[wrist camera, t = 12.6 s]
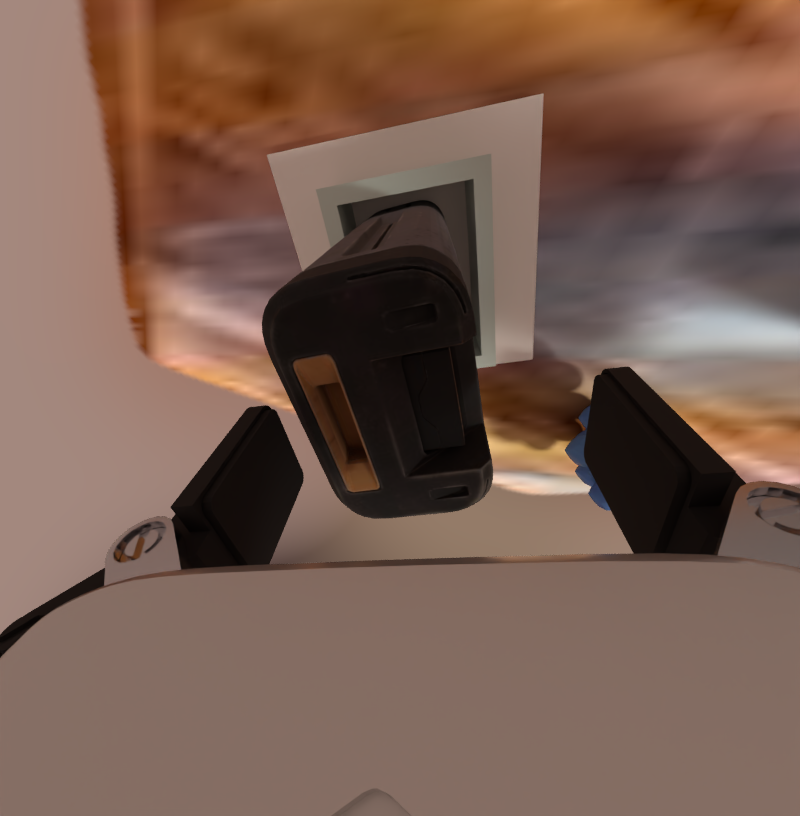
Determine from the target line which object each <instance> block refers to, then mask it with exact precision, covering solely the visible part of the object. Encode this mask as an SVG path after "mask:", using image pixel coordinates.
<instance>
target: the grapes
mask: <svg viewBox="0 0 800 816" xmlns="http://www.w3.org/2000/svg"><path fill="white" fill-rule="evenodd" d="M589 412H590V406H588V407H587V408H586V409H584V410H583V412H582V413H581V414H580V416H579V420H580V422H581V423H582V425H583V426H584V427H585V428H586V430H584V431H582V432H581V433H579V434H578V435H577V436H576V437H575V438H574V439H573V440H571V442H570V443H569V444H568V446H567V447H566V449H565V451H566V453H567V454H568V456H569V457H570V459H571V460H572V461H573V462H574V463H575V464H577V465H579V466H578V467H577V469H576V471H575V472H576V474H577V475H578V477H579V478H580V479H581V480H582V481H583V482H584V483H585V484H587V485H589V486H591V489H590V491H589V493H588V494H589V495H590V497H591V498H592V500H593V501H594V502H595V503H596V504H597V505H598V506H599V507H601V508H603V509H605V510H610V508H609V506H608V504H607V502H606V500H605V498H604V496H603V495H602V493H601V491H600V489H599V487H598V485H597V483H596V481H595V479H594V478H593V476H592V474H591V472H590V470H589V468H588V466H587V464H586V462H585V459H584V446H585V439H586V432H587V425H588V419H589Z"/></svg>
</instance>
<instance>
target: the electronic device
mask: <svg viewBox="0 0 800 816" xmlns="http://www.w3.org/2000/svg"><path fill="white" fill-rule="evenodd" d="M262 333H263V337H264V342H265V345H266V348H267V350H268V353H269V355H270V358H271V360H272V363H273V365H274V367H275V369H276V371H277V373H278V375H279V377H280V379H281V382H282V384H283V386H284V388H285V390H286V392H287V394H288V396H289V398H290V401H291V403H292V405H293V407H294V409H295V411H296V413H297V415H298V417H299V420H300V422H301V424H302V426H303V428H304V430H305V432H306V434H307V436H308V438H309V440H310V443H311V445H312V447H313V449H314V451H315V453H316V455H317V457H318V459H319V462H320V464H321V466H322V468H323V470H324V472H325V474H326V476H327V478H328V481H329V483H330V485H331V487H332V489H333V491H334V492H335V494H336V496H337V497H338V498H339V499H340V501H341V502H342V503H343V504H345V505H346V506H347V507H348V508H350V509H351V510H352V511H353V512H355V513H357V514H359V515H361V516H364V517H370V518H396V517H406V516H416V515H426V514H437V513H446V512H453V511H459V510H462V509H465V508H468V507H469V506H471V505H474V504H475V503H477V502H478V501H480V500H481V499H482V498H483V497H485V495H486V494H487V492H488V491H489V489H490V487H491V484H492V480H493V466H492V459H491V454H490V449H489V445H488V440H487V435H486V431H485V426H484V421H483V413H482V405H481V397H480V389H479V381H478V373H477V365H476V357H475V350H474V342H473V337H474V336H476V335H477V334H476V325H475V318H474V312H473V308H472V304H471V300H470V297H469V293H468V290H467V287H466V284H465V282H464V279H463V275H462V271H461V268H460V266H459V263H458V259H457V255H456V251H455V248H454V246H453V243H452V240H451V237H450V234H449V231H448V228H447V224H446V221H445V218H444V215H443V213H442V211H441V210H440V208H439V207H438V206H437V205H436V204H435V203H433V202H431V201H427V200H419V201H414V202H410V203H406V204H402V205H398V206H395V207H391V208H387V209H384V210H381V211H378V212H376V213H375V214H373V215H372V216H371V217H369V218H368V219H367V220H366V221H364V222H363V223H362V224H361V225H359V226H358V227H357V228H355V229H354V230H353V231H352V232H350V233H349V234H348V235H346V236H345V237H344V238H343V239H341V240H340V241H339V242H338V243H336V244H335V245H334V246H333V247H331V248H330V249H329V250H328V251H327V252H325V253H324V254H323V255H322V256H321V257H319V258H318V259H317V260H316V261H315V262H313V263H312V264H311V265H310V266H308V267H307V268H306V269H305V270H304V271H302V272H301V273H300V274H299V275H297V276H296V277H295V278H293V279H292V280H291V281H290V282H288V283H287V284H286V285H285V286H283V287H282V288H281V289H280V290H279V291H278V292H277V293H276V294H275V295H274V296H272V297H271V298H270V300H269V302H268V304H267V306H266V308H265V310H264V314H263V320H262Z"/></svg>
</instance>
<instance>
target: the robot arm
mask: <svg viewBox="0 0 800 816" xmlns="http://www.w3.org/2000/svg"><path fill="white" fill-rule="evenodd" d="M584 459H585V462H586V464H587V466H588V468H589V470H590V472H591V474H592V476H593V478H594V479H595V481H596V483H597V485H598V487H599V489H600V491H601V493H602V495H603V496H604V498H605V500H606V502H607V504H608V506H609V508H610V510H611V511H612V513H613V515H614V517H615V519H616V521H617V523H618V525H619V527H620V528H621V530H622V532H623V534H624V536H625V538H626V540H627V542H628V544H629V545H630V547H631V549H632V551H633V553H634V554H575V555H540V556H506V557H505V556H503V557H467V558H437V559H436V558H435V559H404V560H378V561H377V560H375V561H347V562H346V561H345V562H320V563H293V564H269V563H270V561H271V559H272V556H273V554H274V551H275V549H276V546H277V544H278V541H279V539H280V537H281V534H282V532H283V530H284V527H285V525H286V522H287V520H288V517H289V515H290V513H291V510H292V508H293V505H294V503H295V501H296V498H297V495H298V493H299V491H300V488H301V486H302V484H303V472H302V469H301V467H300V464H299V463H298V460H297V457H296V455H295V453H294V450H293V448H292V446H291V444H290V441H289V439H288V437H287V434H286V432H285V430H284V427H283V425H282V423H281V421H280V418H279V416H278V414H277V412H276V411H275V410H274V409H271V408H270V407H269V406H257V407H249V408H248V409H246V411H245V412H244V413H243V415H242V416H241V417H240V418H239V420H238V421H237V422H236V424H235V425H234V426H233V428H232V429H231V430H230V431H229V433H228V434H227V435H226V436H225V438H224V439H223V440H222V442H221V443H220V444H219V445H218V447H217V448H216V449H215V451H214V452H213V453H212V454H211V456H210V457H209V458H208V460H207V461H206V462H205V464H204V465H203V466H202V467H201V469H200V470H199V471H198V473H197V474H196V475H195V476H194V478H193V479H192V480H191V481H190V483H189V484H188V485H187V487H186V488H185V489H184V490H183V492H182V493H181V494H180V496H179V497H178V498H177V499H176V501H175V502H174V503H173V505H172V506H171V508H172V510H173V511H174V512H175V516H174V517H173V518H172V520H171V519H170V518H167V517H165V516H161V517H160V516H157V517H153V518H149V519H147V520H144V521H142V522H140V523H138V524H136V525H134V526H133V527H131V528H129V529H128V530H127V531H126V532H125V533H124V534H122V535H121V536H120V537H119V538H118V539H117V540H116V541H115V542H114V543H113V545H112V546H111V547H110V549H109V551H108V553H107V556H106V561H105V568H104V569H102V570H100V571H99V572H97V573H95V574H94V575H92V576H90V577H88V578H87V579H85V580H83V581H82V582H80V583H78V584H77V585H75V586H73V587H71V588H70V589H68V590H66V591H65V592H63V593H61V594H60V595H58V596H57V597H55V598H53V599H51V600H49V601H48V602H46V603H45V604H43V605H41V606H39V607H38V608H36V609H34V610H33V611H31V612H29V613H28V614H26V615H25V616H23V617H21V618H19V619H18V620H16V621H15V622H13V623H12V624H11V625H9V627H7V628H6V629H5V630H4V631H3V632H2V634H1V635H0V816H800V488H797V487H794V486H791V485H786V484H782V483H778V482H766V481H758V482H750V483H747V484H746V483H745V482H744V481H743V480H742V479H741V478H740V477H739V476H738V475H737V474H736V471H735V470H734V469H733V468H732V467H731V466H730V465H729V464H728V463H727V462H726V461H725V460H724V459H723V458H722V457H721V456H720V455H718V454H717V453H716V452H715V451H714V450H713V449H712V448H711V447H710V446H709V445H708V444H707V443H706V442H705V441H704V440H703V439H702V438H701V437H700V436H699V435H698V434H697V433H696V432H695V431H694V430H693V429H692V428H691V427H690V426H689V425H688V424H687V423H686V422H685V421H684V420H683V419H682V418H681V417H680V416H679V415H678V414H677V413H676V412H675V411H674V410H673V409H672V408H671V407H670V406H669V405H668V404H667V403H666V402H665V401H664V400H663V399H662V398H661V397H660V396H659V395H658V394H657V393H656V392H655V391H654V390H653V389H652V388H650V387H649V386H648V385H647V384H646V383H645V382H644V381H643V380H642V379H641V378H640V377H639V376H638V375H637V374H636V373H635V372H634V371H633V370H632V369H631V368H630V367H619V368H610V369H604V370H603V371H602V373H601V375H597V376H596V377H595V379H594V385H593V392H592V398H591V405H590V412H589V419H588V425H587V432H586V439H585V446H584Z"/></svg>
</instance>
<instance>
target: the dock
mask: <svg viewBox="0 0 800 816" xmlns="http://www.w3.org/2000/svg"><path fill="white" fill-rule="evenodd" d="M543 97H544V93H542V94H538V95H533V96H529V97H524V98H520V99H515V100H511V101H506V102H502V103H498V104H493V105H489V106H484V107H480V108H475V109H471V110H466V111H462V112H457V113H453V114H448V115H444V116H439V117H435V118H430V119H426V120H421V121H417V122H412V123H408V124H403V125H399V126H394V127H390V128H385V129H381V130H376V131H372V132H367V133H363V134H358V135H354V136H349V137H345V138H340V139H336V140H331V141H327V142H322V143H318V144H313V145H309V146H304V147H300V148H295V149H291V150H286V151H282V152H277V153H273V154H268V155H267V158H268V161H269V164H270V168H271V171H272V174H273V177H274V181H275V184H276V187H277V190H278V194H279V197H280V200H281V203H282V207H283V210H284V213H285V216H286V220H287V223H288V226H289V229H290V233H291V236H292V239H293V242H294V246H295V249H296V252H297V255H298V259H299V262H300V265H301V269H302V271H304V270H305V269H306V268H307V267H308V266H310V265H311V264H312V263H313V262H315V261H316V260H317V259H318V258H319V257H321V256H322V255H323V254H324V253H325V252H327V251H328V250H329V249H330V248H331V247H333V246H334V245H335V244H336V243H338V242H339V241H340V240H341V239H343V238H344V237H345V236H346V235H348V234H349V233H350V232H352V231H353V230H354V229H355V228H357V227H358V226H359V225H361V224H362V223H363V222H364V221H366V220H367V219H368V218H369V217H371V216H372V215H373V214H375V213H376V212H378V211H381V210H384V209H387V208H391V207H395V206H398V205H402V204H406V203H410V202H414V201H419V200H427V201H431V202H433V203H435V204H436V205H437V206H438V207H439V208H440V210H441V211H442V213H443V215H444V218H445V221H446V224H447V228H448V231H449V234H450V237H451V240H452V243H453V246H454V248H455V251H456V255H457V259H458V263H459V266H460V268H461V271H462V275H463V279H464V282H465V284H466V287H467V290H468V293H469V297H470V300H471V304H472V308H473V312H474V318H475V325H476V334H477V335H476V336H474V337H473V342H474V350H475V357H476V365H477V368H484V367H492V366H496V364H501V363H509V362H517V361H525V360H533V341H534V317H535V292H536V268H537V243H538V219H539V194H540V170H541V146H542V121H543Z"/></svg>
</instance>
